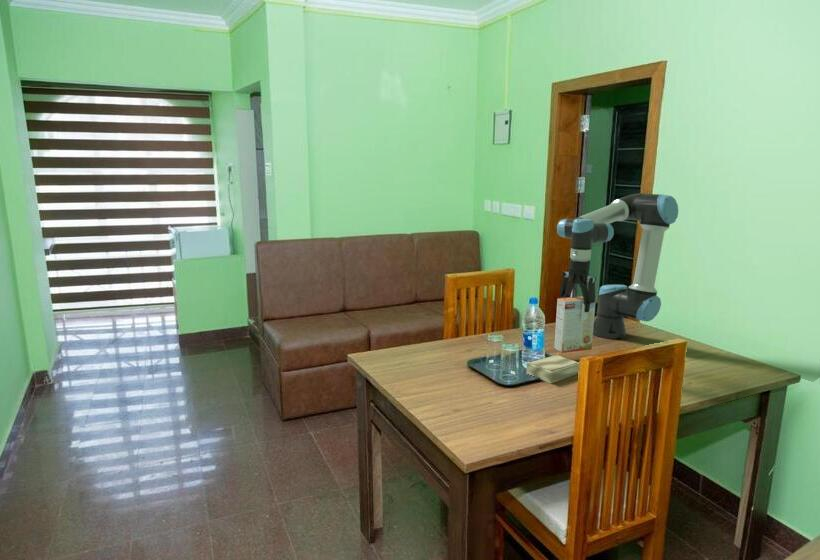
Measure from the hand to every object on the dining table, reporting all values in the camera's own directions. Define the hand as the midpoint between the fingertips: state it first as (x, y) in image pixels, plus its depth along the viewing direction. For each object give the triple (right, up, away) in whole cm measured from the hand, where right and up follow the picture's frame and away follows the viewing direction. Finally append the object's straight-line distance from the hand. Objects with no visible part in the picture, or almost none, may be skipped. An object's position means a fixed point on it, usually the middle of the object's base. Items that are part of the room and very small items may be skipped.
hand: (575, 317), depth 213 cm
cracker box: (0, -13, +3) cm, 13 cm away
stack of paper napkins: (-12, -20, -13) cm, 27 cm away
